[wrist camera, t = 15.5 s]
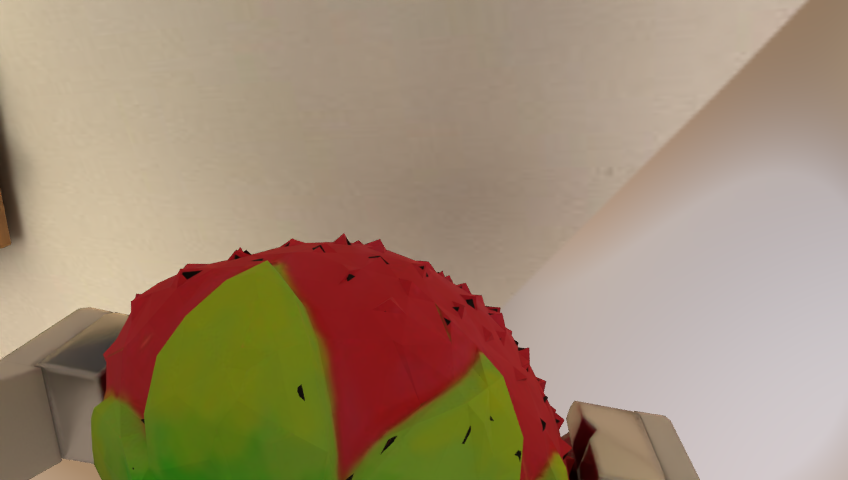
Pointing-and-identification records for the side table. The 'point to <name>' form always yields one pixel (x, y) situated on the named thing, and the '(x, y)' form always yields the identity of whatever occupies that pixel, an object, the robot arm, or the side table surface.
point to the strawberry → (321, 376)
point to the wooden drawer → (3, 227)
